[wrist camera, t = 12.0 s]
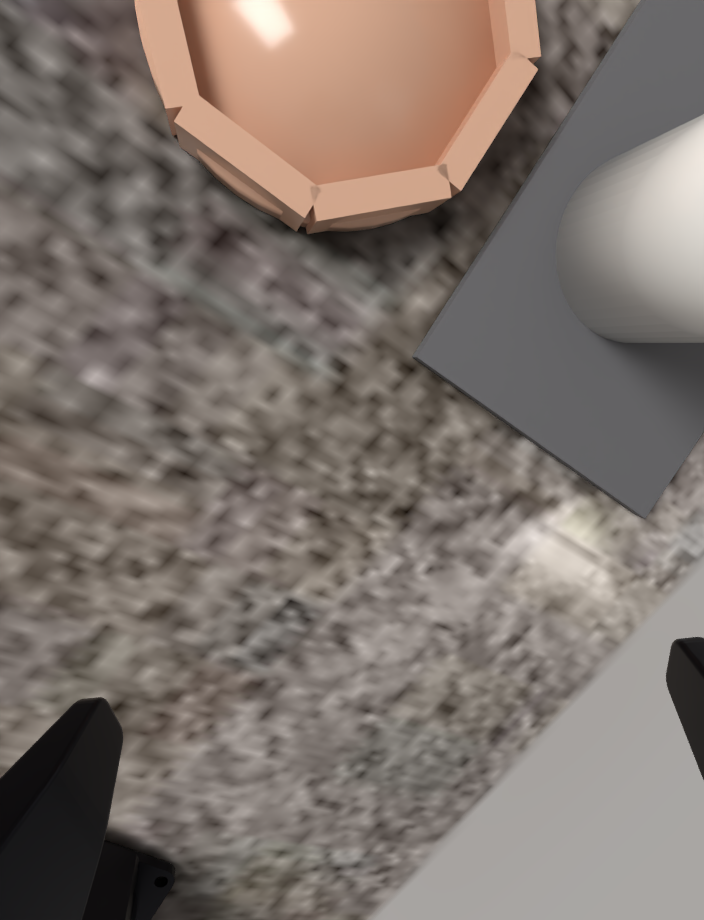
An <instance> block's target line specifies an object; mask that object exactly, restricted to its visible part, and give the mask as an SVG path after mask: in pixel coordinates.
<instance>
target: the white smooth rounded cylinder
mask: <svg viewBox="0 0 704 920" xmlns="http://www.w3.org/2000/svg"><path fill="white" fill-rule="evenodd" d="M556 267H557V273H558V279H559V282H560V286H561V289H562V292H563V294H564V297H565V299H566V301H567V303H568V305H569V306H570V308H571V310H572V311H573V313H574V314H575V315H576V316H577V318H578V319H579V320H580V321H581V322H582V323H583V324H584V325H585V326H586V327H587V328H589V329H590V330H592V331H593V332H594V333H596V334H598V335H600V336H602V337H604V338H606V339H609V340H612V341H616V342H622V343H704V114H703V115H701V116H699V117H697V118H695V119H693V120H691V121H689V122H686V123H684V124H682V125H680V126H678V127H676V128H674V129H672V130H670V131H668V132H666V133H664V134H662V135H660V136H658V137H656V138H654V139H651V140H649V141H647V142H645V143H643V144H641V145H639V146H637V147H635V148H633V149H631V150H629V151H627V152H625V153H623V154H621V155H618V156H616V157H614V158H612V159H610V160H609V161H607V162H605V163H603V164H602V165H600V166H599V167H598V168H596V169H595V170H594V171H593V172H591V173H590V174H589V175H588V176H587V177H586V178H585V179H584V180H583V181H582V183H581V184H580V185H579V187H578V188H577V189H576V191H575V192H574V194H573V195H572V197H571V199H570V201H569V202H568V204H567V207H566V209H565V211H564V214H563V216H562V219H561V223H560V226H559V230H558V236H557V243H556Z"/></svg>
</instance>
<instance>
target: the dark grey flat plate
mask: <svg viewBox="0 0 704 920" xmlns="http://www.w3.org/2000/svg"><path fill="white" fill-rule="evenodd" d="M703 114H704V0H641V1H640V2H639V4H638V5H637V7H636V9H635V10H634V12H633V13H632V15H631V16H630V18H629V19H628V21H627V23H626V24H625V26H624V27H623V29H622V30H621V32H620V34H619V35H618V37H617V38H616V40H615V41H614V43H613V44H612V46H611V48H610V49H609V51H608V52H607V54H606V55H605V57H604V58H603V60H602V62H601V63H600V65H599V66H598V68H597V69H596V71H595V73H594V74H593V76H592V77H591V79H590V80H589V82H588V83H587V85H586V87H585V88H584V90H583V91H582V93H581V94H580V96H579V97H578V99H577V101H576V102H575V104H574V105H573V107H572V108H571V110H570V111H569V113H568V115H567V116H566V118H565V119H564V121H563V122H562V124H561V126H560V127H559V129H558V130H557V132H556V133H555V135H554V136H553V138H552V140H551V141H550V143H549V144H548V146H547V147H546V149H545V150H544V152H543V154H542V155H541V157H540V158H539V160H538V161H537V163H536V165H535V166H534V168H533V169H532V171H531V172H530V174H529V175H528V177H527V179H526V180H525V182H524V183H523V185H522V186H521V188H520V189H519V191H518V193H517V194H516V196H515V197H514V199H513V200H512V202H511V203H510V205H509V207H508V208H507V210H506V211H505V213H504V214H503V216H502V218H501V219H500V221H499V222H498V224H497V225H496V227H495V228H494V230H493V232H492V233H491V235H490V236H489V238H488V239H487V241H486V242H485V244H484V246H483V247H482V249H481V250H480V252H479V253H478V255H477V257H476V258H475V260H474V261H473V263H472V264H471V266H470V267H469V269H468V271H467V272H466V274H465V275H464V277H463V278H462V280H461V281H460V283H459V285H458V286H457V288H456V289H455V291H454V292H453V294H452V295H451V297H450V299H449V300H448V302H447V303H446V305H445V306H444V308H443V310H442V311H441V313H440V314H439V316H438V317H437V319H436V320H435V322H434V324H433V325H432V327H431V328H430V330H429V331H428V333H427V334H426V336H425V338H424V339H423V341H422V342H421V344H420V345H419V347H418V349H417V350H416V352H415V353H414V355H413V356H412V357H413V358H414V359H416V360H417V361H418V362H420V363H421V364H423V365H424V366H426V367H427V368H428V369H430V370H431V371H433V372H434V373H435V374H437V375H438V376H440V377H441V378H443V379H444V380H445V381H447V382H448V383H450V384H451V385H452V386H454V387H455V388H457V389H458V390H460V391H461V392H462V393H464V394H465V395H467V396H468V397H469V398H471V399H472V400H474V401H475V402H477V403H478V404H479V405H481V406H482V407H484V408H485V409H486V410H488V411H489V412H491V413H492V414H494V415H495V416H496V417H498V418H499V419H501V420H502V421H504V422H505V423H506V424H508V425H509V426H511V427H512V428H513V429H515V430H516V431H518V432H519V433H521V434H522V435H523V436H525V437H526V438H528V439H529V440H530V441H532V442H533V443H535V444H536V445H538V446H539V447H540V448H542V449H543V450H545V451H546V452H547V453H549V454H550V455H552V456H553V457H555V458H556V459H557V460H559V461H560V462H562V463H563V464H564V465H566V466H567V467H569V468H570V469H572V470H573V471H574V472H576V473H577V474H579V475H580V476H581V477H583V478H584V479H586V480H587V481H589V482H590V483H591V484H593V485H594V486H596V487H597V488H599V489H600V490H601V491H603V492H604V493H606V494H607V495H608V496H610V497H611V498H613V499H614V500H616V501H617V502H618V503H620V504H621V505H623V506H624V507H625V508H627V509H628V510H630V511H631V512H633V513H634V514H635V515H638V516H640V517H643V518H646V517H647V515H648V514H649V512H650V511H651V509H652V508H653V506H654V505H655V503H656V502H657V500H658V499H659V497H660V496H661V494H662V493H663V491H664V490H665V488H666V487H667V485H668V484H669V483H670V481H671V480H672V478H673V477H674V475H675V474H676V472H677V471H678V469H679V468H680V466H681V465H682V463H683V462H684V460H685V459H686V457H687V456H688V454H689V453H690V451H691V450H692V449H693V447H694V446H695V444H696V443H697V441H698V440H699V438H700V437H701V435H702V434H703V432H704V343H622V342H616V341H612V340H609V339H606V338H604V337H602V336H600V335H598V334H596V333H594V332H593V331H592V330H590V329H589V328H587V327H586V326H585V325H584V324H583V323H582V322H581V321H580V320H579V319H578V318H577V316H576V315H575V314H574V313H573V311H572V310H571V308H570V306H569V305H568V303H567V301H566V299H565V297H564V294H563V292H562V289H561V286H560V282H559V279H558V273H557V267H556V243H557V236H558V230H559V226H560V223H561V219H562V216H563V214H564V211H565V209H566V207H567V204H568V202H569V201H570V199H571V197H572V195H573V194H574V192H575V191H576V189H577V188H578V187H579V185H580V184H581V183H582V181H583V180H584V179H585V178H586V177H587V176H588V175H589V174H590V173H591V172H593V171H594V170H595V169H596V168H598V167H599V166H600V165H602V164H603V163H605V162H607V161H609V160H610V159H612V158H614V157H616V156H618V155H621V154H623V153H625V152H627V151H629V150H631V149H633V148H635V147H637V146H639V145H641V144H643V143H645V142H647V141H649V140H651V139H654V138H656V137H658V136H660V135H662V134H664V133H666V132H668V131H670V130H672V129H674V128H676V127H678V126H680V125H682V124H684V123H686V122H689V121H691V120H693V119H695V118H697V117H699V116H701V115H703Z"/></svg>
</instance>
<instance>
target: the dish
mask: <svg viewBox="0 0 704 920" xmlns="http://www.w3.org/2000/svg"><path fill="white" fill-rule="evenodd" d="M135 9H136V15H137V20H138V25H139V30H140V36H141V41H142V44H143V48H144V51H145V55H146V58H147V62H148V65H149V68H150V71H151V75H152V78H153V81H154V84H155V87H156V89H157V92H158V94H159V96H160V99H161V101H162V103H163V105H164V108H165V110H166V113H167V117H168V121H169V125H170V128H171V132H172V136H173V135H177V137H178V141H179V145H180V147H181V148H182V149H184V150H185V151H186V152H188V153H189V154H191V155H192V156H193V157H195V158H196V159H197V160H199V161H200V162H201V163H202V164H203V166H204V167H205V168H206V169H207V170H208V171H209V172H210V173H211V174H212V175H213V176H214V177H215V178H216V179H217V180H218V181H219V182H221V183H222V184H223V185H224V186H225V187H227V188H228V189H229V190H230V191H232V192H233V193H234V194H235V195H236V196H238V197H239V198H241V199H243V200H244V201H246V202H247V203H249V204H250V205H252V206H254V207H255V208H257V209H258V210H261V211H263V212H265V213H267V214H269V215H271V216H273V217H275V218H278V219H280V220H281V221H282V222H284V223H285V224H287V225H288V226H289V227H291V228H292V229H293V230H295V231H296V232H297V230H298V228H299V227H300V226H301V227H306V231H307V234H312V233H317V232H323V231H343V232H350V231H359V230H368V229H373V228H377V227H381V226H385V225H389V224H392V223H394V222H397V221H399V220H402V219H404V218H406V217H409V216H412V215H418V214H423V213H429V212H430V211H432V210H433V209H435V208H436V207H438V206H439V205H441V204H442V203H444V202H446V201H447V200H449V199H450V198H452V197H453V196H454V195H456V194H457V193H459V192H460V191H461V190H462V189H463V187H464V186H465V184H466V182H467V181H468V179H469V178H470V176H471V175H472V173H473V171H474V170H475V168H476V167H477V165H478V163H479V162H480V160H481V159H482V157H483V156H484V154H485V152H486V151H487V149H488V148H489V146H490V145H491V143H492V141H493V140H494V138H495V137H496V135H497V134H498V132H499V130H500V129H501V127H502V126H503V124H504V123H505V121H506V119H507V118H508V116H509V115H510V113H511V112H512V110H513V108H514V107H515V105H516V104H517V102H518V101H519V99H520V97H521V96H522V94H523V93H524V91H525V90H526V88H527V86H528V85H529V83H530V82H531V80H532V79H533V77H534V75H535V74H536V72H537V71H538V69H537V68H536V67H535V66H534V65H533V63H535V62H536V61H537V60H538V59H539V58H540V57H541V51H540V42H539V32H538V23H537V14H536V5H535V0H135Z"/></svg>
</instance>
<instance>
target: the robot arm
mask: <svg viewBox="0 0 704 920" xmlns="http://www.w3.org/2000/svg"><path fill="white" fill-rule="evenodd" d="M666 682H667V687H668V690H669V693H670V695H671V698H672V701H673V703H674V706H675V708H676V711H677V713H678V716H679V718H680V721H681V723H682V726H683V728H684V731H685V734H686V736H687V739H688V741H689V744H690V746H691V749H692V752H693V754H694V757H695V759H696V762H697V764H698V767H699V769H700V772H701V775H702V777H703V779H704V638H701V637H693V638H683V639H676V640H675V641H674V642H673V643H672V646H671V650H670V656H669V662H668V667H667V673H666ZM122 744H123V731H122V727H121V725H120V723H119V722H118V720H117V718H116V716H115V714H114V712H113V711H112V709H111V707H110V705H109V703H108V702H107V700H106V699H104V698H101V697H98V698H88V699H81V700H79V701H77V702H76V703H74V704H73V705H72V706H71V707H70V708H69V709H68V710H67V711H66V712H65V713H64V714H63V715H62V716H61V717H60V718H59V719H58V720H57V721H56V722H55V723H54V724H53V725H52V726H51V727H50V728H49V729H48V730H47V731H46V733H45V734H44V735H43V736H42V737H41V738H40V739H39V740H38V741H37V742H36V743H35V744H34V745H33V746H32V747H31V748H30V749H29V750H28V751H27V752H26V753H25V754H24V755H23V756H22V757H21V758H20V759H19V760H18V761H17V762H16V763H15V764H14V765H13V766H12V767H11V768H10V769H9V770H8V771H7V772H6V773H5V774H4V775H3V776H2V777H1V778H0V920H151V918H152V917H153V915H154V914H155V912H156V911H157V909H158V908H159V906H160V905H161V903H162V902H163V900H164V898H165V897H166V895H167V894H168V892H169V891H170V889H171V888H172V886H173V884H174V881H175V868H174V866H173V865H172V864H170V863H168V862H165V861H162V860H160V859H157V858H154V857H151V856H148V855H145V854H143V853H140V852H137V851H134V850H131V849H128V848H125V847H123V846H120V845H117V844H114V843H111V842H108V841H106V840H104V839H105V834H106V830H107V825H108V820H109V814H110V809H111V803H112V798H113V793H114V787H115V782H116V777H117V771H118V766H119V760H120V755H121V750H122ZM160 876H165V878H158V877H160Z"/></svg>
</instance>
